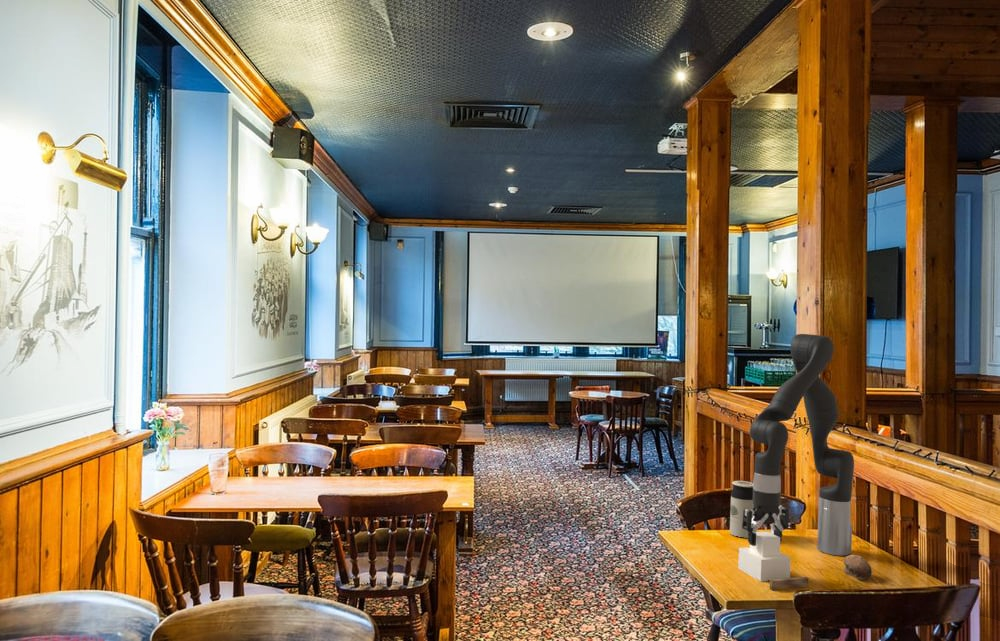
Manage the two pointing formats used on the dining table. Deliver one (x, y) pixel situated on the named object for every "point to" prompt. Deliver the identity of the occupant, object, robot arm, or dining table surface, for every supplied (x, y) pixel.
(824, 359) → the robot arm
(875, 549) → the dining table surface
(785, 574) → the stepped white block
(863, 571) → the brown stone
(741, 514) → the travel mug
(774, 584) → the strip
